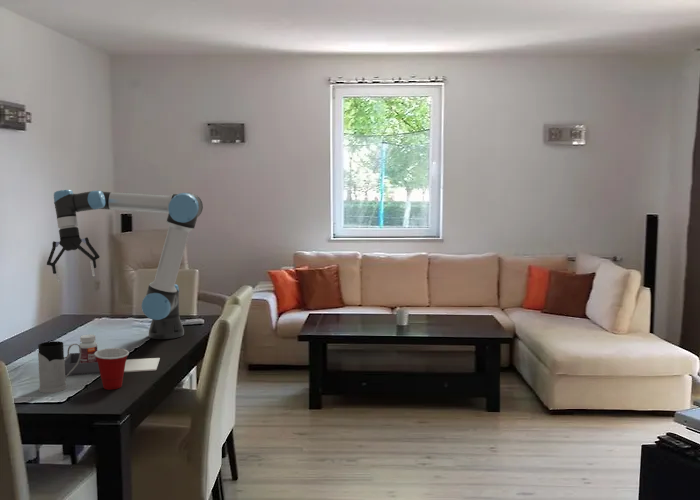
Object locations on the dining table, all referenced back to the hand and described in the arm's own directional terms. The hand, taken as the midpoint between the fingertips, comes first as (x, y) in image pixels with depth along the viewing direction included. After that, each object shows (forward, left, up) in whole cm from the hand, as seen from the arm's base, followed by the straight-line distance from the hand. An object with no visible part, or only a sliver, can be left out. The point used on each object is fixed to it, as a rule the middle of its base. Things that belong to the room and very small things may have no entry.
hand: (76, 279), depth 281 cm
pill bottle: (-10, +36, -28) cm, 47 cm away
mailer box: (-18, +37, -28) cm, 50 cm away
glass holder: (-5, +59, -28) cm, 65 cm away
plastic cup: (-22, +63, -28) cm, 72 cm away
